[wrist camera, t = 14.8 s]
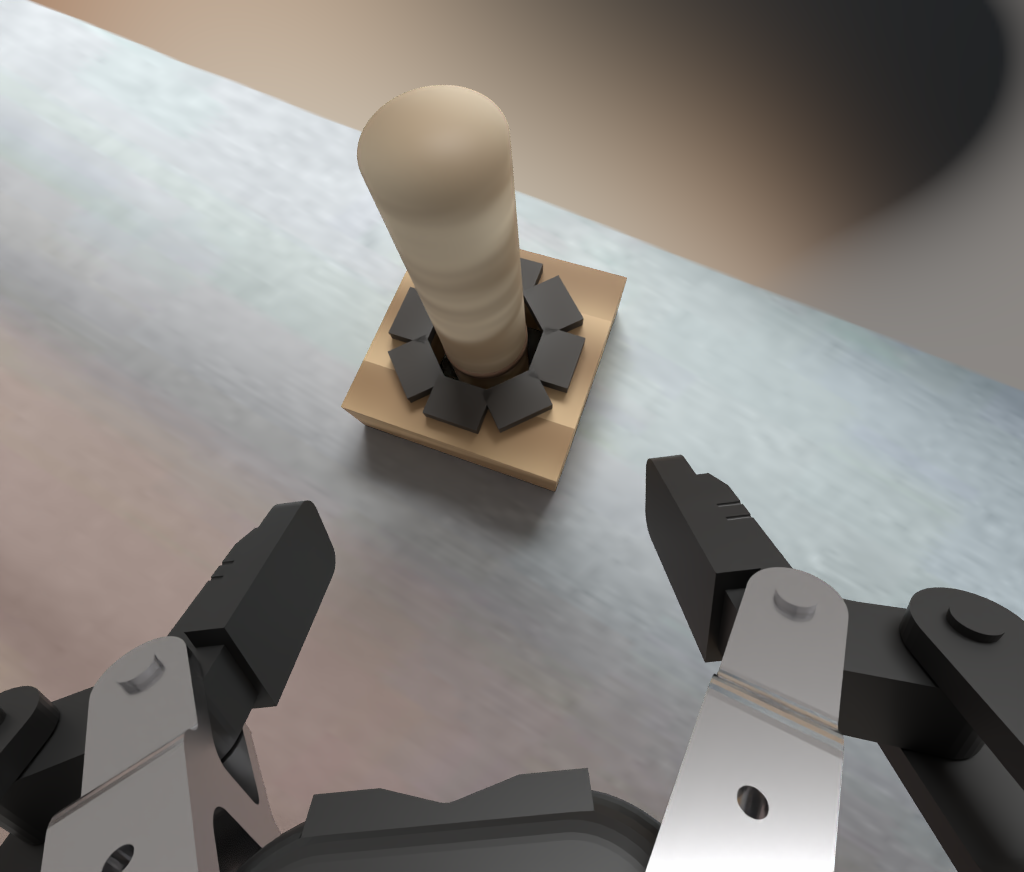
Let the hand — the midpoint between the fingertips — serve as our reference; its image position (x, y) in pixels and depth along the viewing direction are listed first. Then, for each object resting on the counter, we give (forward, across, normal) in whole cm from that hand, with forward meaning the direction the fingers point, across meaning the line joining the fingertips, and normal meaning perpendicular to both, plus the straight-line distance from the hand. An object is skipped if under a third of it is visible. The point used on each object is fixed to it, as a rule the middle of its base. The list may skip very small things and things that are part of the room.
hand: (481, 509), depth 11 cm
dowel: (+15, 0, +2) cm, 15 cm away
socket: (+15, 0, +2) cm, 15 cm away
